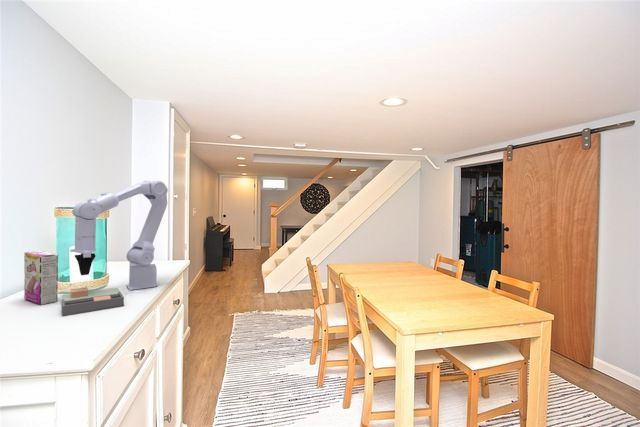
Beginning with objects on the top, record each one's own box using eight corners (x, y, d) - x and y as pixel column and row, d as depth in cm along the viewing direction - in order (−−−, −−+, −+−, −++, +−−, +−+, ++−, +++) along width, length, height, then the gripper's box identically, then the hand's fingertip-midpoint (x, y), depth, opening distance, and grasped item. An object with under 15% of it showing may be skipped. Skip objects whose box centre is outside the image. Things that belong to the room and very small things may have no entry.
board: (117, 292, 112) (117, 287, 111) (121, 298, 105) (121, 293, 105) (61, 300, 101) (61, 294, 101) (61, 307, 95) (61, 301, 94)
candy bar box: (22, 300, 100) (23, 252, 100) (41, 296, 104) (42, 250, 104) (39, 306, 95) (40, 255, 95) (58, 301, 100) (59, 253, 99)
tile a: (109, 301, 101) (109, 295, 101) (111, 304, 98) (111, 298, 98) (93, 303, 98) (93, 297, 98) (94, 307, 95) (94, 301, 95)
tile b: (87, 292, 104) (87, 287, 104) (88, 296, 101) (88, 290, 101) (70, 295, 101) (70, 289, 101) (70, 298, 98) (70, 292, 98)
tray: (119, 299, 104) (119, 290, 104) (123, 306, 98) (123, 297, 98) (61, 308, 94) (61, 298, 94) (62, 316, 88) (62, 306, 88)
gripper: (69, 234, 106) (68, 272, 106) (71, 239, 95) (71, 280, 96) (94, 234, 111) (93, 269, 111) (98, 238, 100) (98, 277, 101)
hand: (84, 274), depth 104 cm, fingers closed
